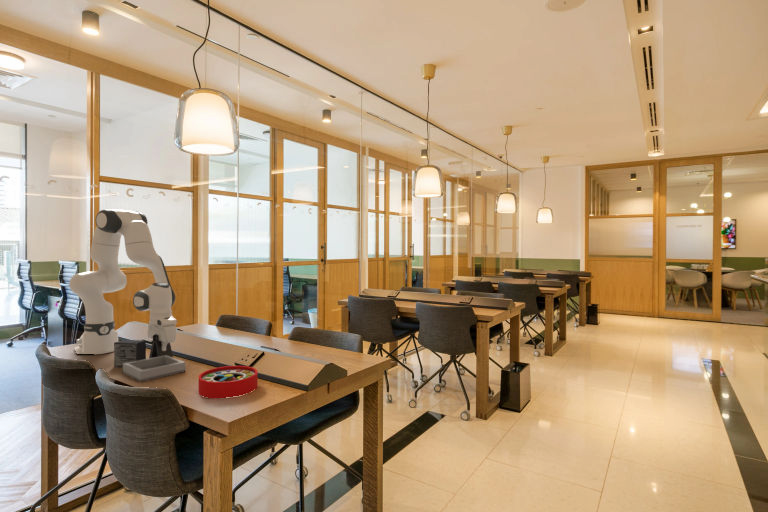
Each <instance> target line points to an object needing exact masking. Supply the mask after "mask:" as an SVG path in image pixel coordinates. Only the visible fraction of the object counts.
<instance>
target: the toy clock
mask: <svg viewBox="0 0 768 512" xmlns="http://www.w3.org/2000/svg"><path fill="white" fill-rule="evenodd" d="M258 381H259V380H258V369H256V368H255V367H252V366H247V365H246V366H245V365H226V366H219V367H215V368H211V369H210V368H209V369H207V370H205V371H203V372H201V373H199V375H198V382H197V383H198V387H197V388H198V392H199V393H198V395H199V394H200V395H201V396H200V395H199V396H200V397H202V396H204V397H203V398H205V397H208V398H207V399H209V398H226V397H233V396H239V395H243V394H246V393H249V392H251V391H253V390H254V389H256V388H257V389H258V386H259V385H258ZM257 385H258V386H257ZM257 389H256V390H257ZM253 392H254V391H253ZM249 394H250V393H249Z"/></svg>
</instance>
